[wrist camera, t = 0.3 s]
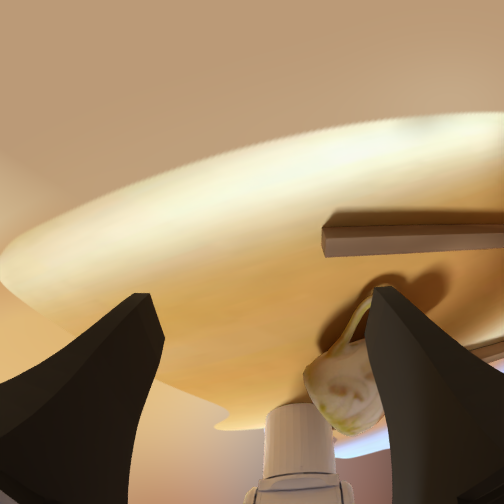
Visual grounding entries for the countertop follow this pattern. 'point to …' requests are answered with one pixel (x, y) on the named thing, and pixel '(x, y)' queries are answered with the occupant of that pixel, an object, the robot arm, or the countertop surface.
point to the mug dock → (416, 248)
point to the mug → (346, 382)
